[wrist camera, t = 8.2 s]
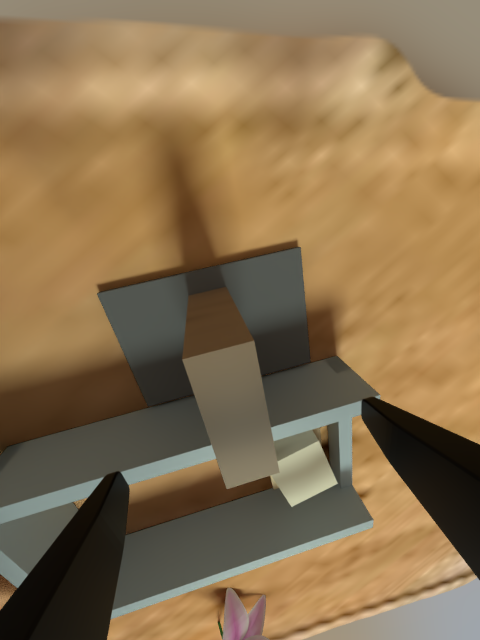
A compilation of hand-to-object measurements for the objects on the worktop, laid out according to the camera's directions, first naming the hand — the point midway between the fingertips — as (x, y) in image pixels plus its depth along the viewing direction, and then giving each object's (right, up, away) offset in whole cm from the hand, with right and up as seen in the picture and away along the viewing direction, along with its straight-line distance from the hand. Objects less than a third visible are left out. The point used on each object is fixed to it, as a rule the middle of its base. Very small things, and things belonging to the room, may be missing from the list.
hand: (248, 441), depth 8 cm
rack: (-3, -9, +13) cm, 16 cm away
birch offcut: (+4, -7, +12) cm, 15 cm away
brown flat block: (-2, +3, +8) cm, 9 cm away
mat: (-2, +4, +8) cm, 9 cm away
